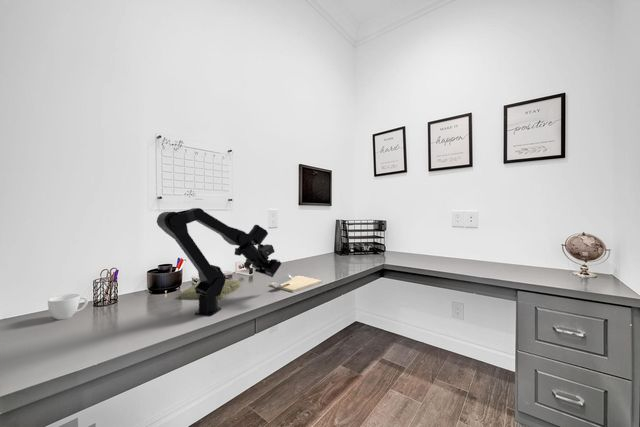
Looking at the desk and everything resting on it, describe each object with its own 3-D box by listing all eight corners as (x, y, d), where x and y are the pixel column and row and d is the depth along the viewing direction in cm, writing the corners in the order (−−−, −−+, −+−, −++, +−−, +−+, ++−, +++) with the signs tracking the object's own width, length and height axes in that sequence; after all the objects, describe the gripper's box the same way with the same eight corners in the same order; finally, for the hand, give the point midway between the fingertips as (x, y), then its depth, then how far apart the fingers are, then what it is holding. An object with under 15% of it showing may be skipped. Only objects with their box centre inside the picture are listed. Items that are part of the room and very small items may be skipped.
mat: (293, 292, 118) (293, 289, 118) (269, 285, 128) (269, 283, 128) (322, 282, 133) (322, 280, 133) (299, 277, 143) (298, 275, 143)
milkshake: (275, 292, 121) (290, 285, 129) (281, 286, 119) (296, 279, 127) (270, 284, 123) (285, 277, 131) (276, 278, 120) (290, 271, 128)
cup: (48, 317, 91) (47, 297, 91) (86, 309, 98) (86, 291, 98) (48, 324, 86) (48, 303, 86) (89, 315, 93) (89, 295, 93)
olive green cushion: (179, 299, 110) (179, 290, 110) (205, 285, 130) (205, 278, 130) (223, 301, 108) (223, 292, 108) (242, 286, 128) (242, 279, 128)
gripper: (277, 240, 108) (297, 264, 116) (250, 237, 120) (269, 259, 128) (261, 262, 102) (283, 285, 110) (234, 257, 114) (255, 278, 122)
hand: (272, 276), depth 118 cm, fingers closed
